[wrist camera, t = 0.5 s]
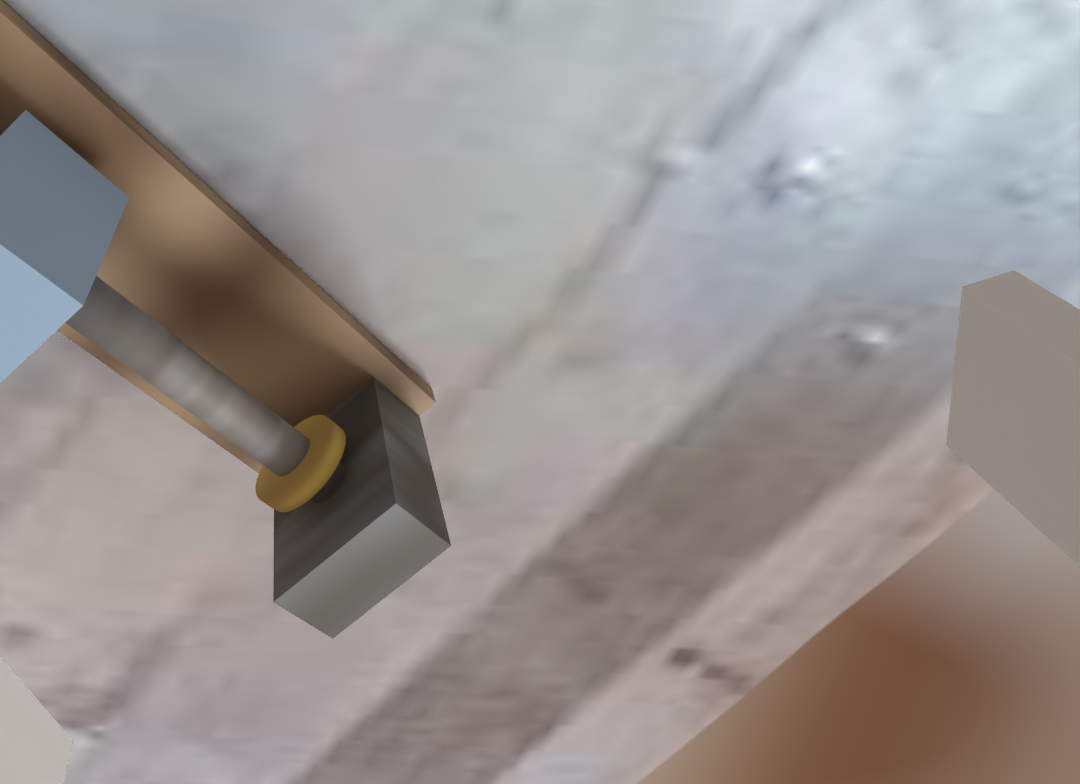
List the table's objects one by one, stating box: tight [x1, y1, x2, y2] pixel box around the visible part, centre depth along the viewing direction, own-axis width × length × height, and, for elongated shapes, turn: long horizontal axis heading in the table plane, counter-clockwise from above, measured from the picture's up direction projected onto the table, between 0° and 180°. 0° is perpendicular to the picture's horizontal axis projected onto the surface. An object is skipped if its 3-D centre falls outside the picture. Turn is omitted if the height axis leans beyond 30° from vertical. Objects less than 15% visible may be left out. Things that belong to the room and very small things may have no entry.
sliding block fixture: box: [0, 0, 451, 638], centre depth 31 cm, size 22×8×10 cm, turn 37°
